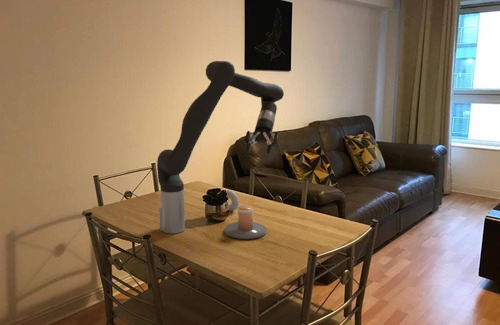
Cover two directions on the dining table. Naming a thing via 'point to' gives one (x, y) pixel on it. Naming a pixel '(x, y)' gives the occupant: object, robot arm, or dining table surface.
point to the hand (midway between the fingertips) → (257, 152)
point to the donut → (234, 200)
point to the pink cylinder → (245, 218)
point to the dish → (236, 233)
